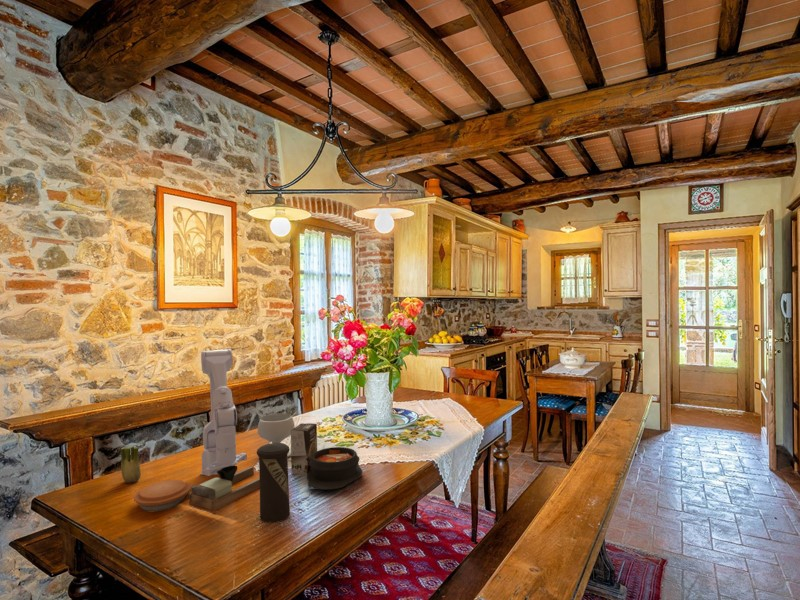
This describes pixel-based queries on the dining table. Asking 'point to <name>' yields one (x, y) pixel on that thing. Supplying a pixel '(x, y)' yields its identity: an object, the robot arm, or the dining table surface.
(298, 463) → the coffee box
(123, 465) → the fennel bulb
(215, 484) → the pale green block
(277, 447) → the container
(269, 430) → the chalice
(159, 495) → the pie
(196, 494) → the bay
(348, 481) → the casserole
